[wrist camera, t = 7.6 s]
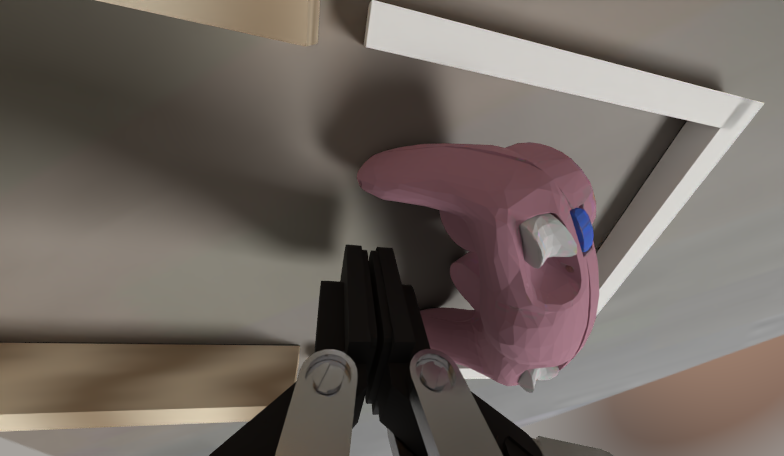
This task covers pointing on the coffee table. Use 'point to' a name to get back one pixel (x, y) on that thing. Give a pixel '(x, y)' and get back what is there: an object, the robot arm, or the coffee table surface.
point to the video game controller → (504, 251)
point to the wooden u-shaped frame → (158, 361)
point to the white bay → (596, 81)
